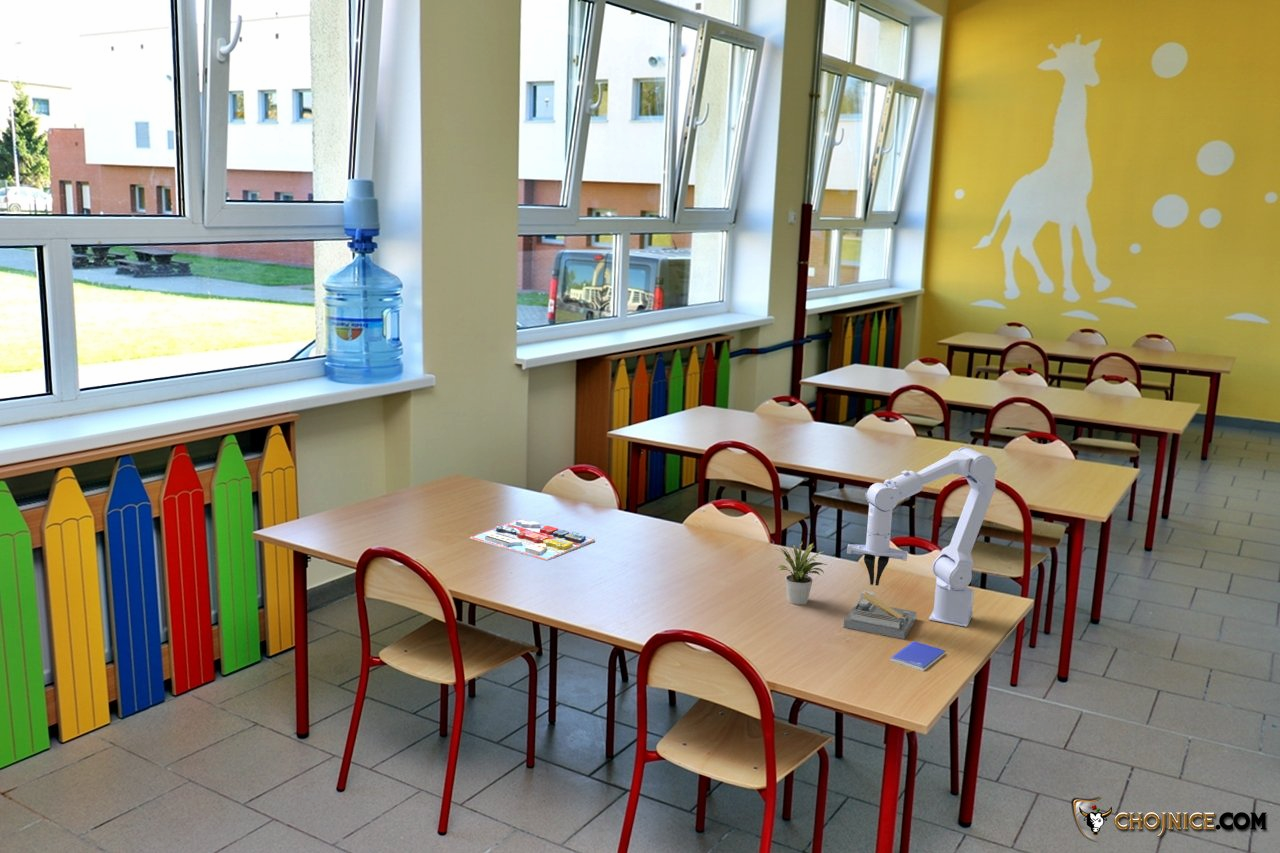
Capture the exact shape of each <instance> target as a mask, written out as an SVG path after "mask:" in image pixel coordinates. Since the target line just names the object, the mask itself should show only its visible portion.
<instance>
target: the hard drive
mask: <svg viewBox="0 0 1280 853" xmlns="http://www.w3.org/2000/svg"><path fill="white" fill-rule="evenodd" d="M945 654H946V650H944V649H942V648H939V647H935V646H933V645H928V644H926V643H922V642H919V641H915V640H913V641H912V642H910V643H909V644H908V645H906V646H905V647H903V648H902V649H900V650H898V652H895V654H893V655H892V656H891V657H890V658H889V659H890V660H889V661H890V662H892V663H896V664H899V665H903V666H904V667H905V666H906V667H909V668H912V669H915V670H918V671H922V672H924V671H925V670H927V669H928V668H929V667H930V666H932V665H933V664H934V663H936V662H937V661H938V660H940V658H942V657H943V656H944V655H945Z"/></svg>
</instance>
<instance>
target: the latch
mask: <svg viewBox="0 0 1280 853" xmlns="http://www.w3.org/2000/svg"><path fill="white" fill-rule="evenodd" d="M865 592H867V593H869V594H870V595H872V596H873V597H875V591H870V590H862V591H861V593H860V598H861V602H860V603H859V605H860V606H865V607H867V606H869V607H871V605H872V603H870V602H869V601H867V600H866V599H864V598H863V597H862V596H863V595H864V594H865Z"/></svg>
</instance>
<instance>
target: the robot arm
mask: <svg viewBox="0 0 1280 853" xmlns="http://www.w3.org/2000/svg"><path fill="white" fill-rule="evenodd" d="M997 469H998V466H997V465H996V464H995V461H994V460H993V459H992V458H991V457H990V456H989V455H988V454H984V453H981V452H980V451H977V450H975V449H974V448H972V447H969V446H962V447H959V448H958V449H956V450H952V451H951V452H950V453H949V454H947V456H945V457H944V458H942V459H939V460H938V461H936V462H934V463H932V464H930V465H928V466H926V467H925V468H923V469H920V470H919V471H917V472H916V471H913V470H906V469H905V470H903V471H901V474H899V475H897V476H895V477H892V478H891V479H888V478H887V479H885V480H884V481H883V483H882V482H875V483H873V484H872V485H870V486H869V488H868V489H867V492H865V493H864V494H865V499H866V501H867V503H868V514H867V516H868V517H867V525H866V526H867V527H866V528H867V529H866V538H865V540H866V541H865V544H850V543H848V544H847V548H846V554H847V555H848V554H849V555H852V554H854V555H860V556H861V555H862V556H864V557H863V560H864V561H863V562H864V564H865V567H866V569H867V572H868V576H869V585H871V586H874V583H875V586H879V585H880V581H881V577H882V574H883V572H884V570H885V568H886V567H887V566H888V563H889V559H893V560H901V561H903V562H906V561H908V552H909V551H907V550H902V549H897V548H894V547H890V545H891V534H892V533H891V532H892V520H893V510H894V509H895V508H896V507H897V506H898V503H899V502H901V501H904V500H905V499H907V498H910V497H912V496H914V495H916V494H918V493H920V492H921V491H922V489H923V486H924V485H928V484H929V483H931V482H935V481H937V480H940V479H942V478H944V477H946V476H950V475H952V474H953V475H958V476H963V477H965V479H966V480H967V483H968V484H969V487H970V489H969V492H968V495H967V498H966V500H965V503H964V506H963V509H962V512H961V513H960V517H959V519H958V521H957V524H956V527H955V529H954V532H953V534H952V537H951V540H950V542H949V545H946V546H945V547H944V548H942V549H941V551H940V554H939V555H938V556H937V557H936V558H935V560H934V561H933V563H932V572H933V574H934V575H935V576H936V577H935V578H936V579H935V581H936V582H935V591H934V602H933V603H934V604H933V610H932V612H931V614H930V615H929V617H928V619H929V620H930V621H935V622H938V623H939V622H940V623H944V624H949V625H956V626H958V627H959V626H960V627H961V626H962V627H966V628H967V627H968V626H969V624H970V622H971V619H973V618H972V617H973V605H974V598H975V597H974V596H975V590H974V588H971V587H968V586H969V585H970V584H971V581H972V579H973V573H972V572H973V571H972V570H973V567H974V561H973V557H972V551H973V548H974V545H975V543H976V540H977V537H978V535H979V532H980V531H981V527H982V524H983V522H984V519H985V516H986V515H987V511H988V508H989V505H990V504H991V500H992V498H993V496H994V493H995V490H996V478H995V475H996V471H997ZM876 557H877V571H876V577H875V562H876ZM875 578H876V579H875Z"/></svg>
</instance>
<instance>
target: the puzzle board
mask: <svg viewBox="0 0 1280 853" xmlns="http://www.w3.org/2000/svg"><path fill="white" fill-rule="evenodd" d="M469 540H471V541H474V542H479V543H482V544H485V545H489V546H493V547H495V548H500V549H504V550H506V551H510V552H514V553H518V554H521V555H524V556H528V557H532V558H535V559H539V560H542V561H546V562H547V561H550V560H552V559H554V558H557V557H560V556H562V555H565V554H567V553H570V552H573V551H574V550H577V549H580V548H582V547H584V546H587V545H590V544H592V543H595V541H596V539H595V538H592V537H588V536H586V535H585V534H581V533H578V532H575V531H571V532H569V531H568V530H561V529H559V528H558V527H555V526H554V527H553V526H551V525H543V524H540V522H537V521H528V520H526V519H521V518H518V519H515V520H513V521H510V522H507V523H504V524H502V525H497V526H495V527H493V528H491V529H488V530H486V531H482V532H479V533H478V534H475V535H472V536H470V537H469Z"/></svg>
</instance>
